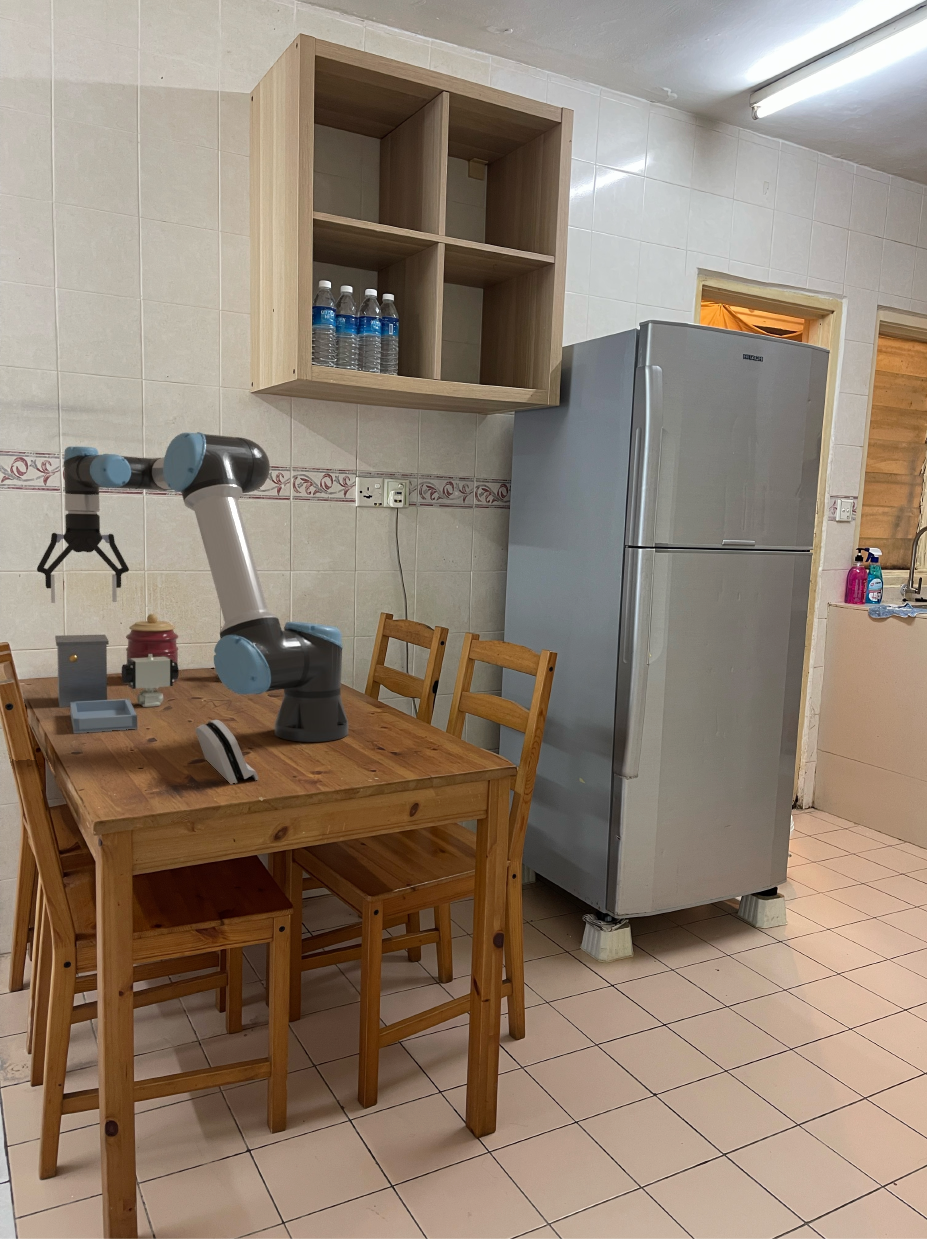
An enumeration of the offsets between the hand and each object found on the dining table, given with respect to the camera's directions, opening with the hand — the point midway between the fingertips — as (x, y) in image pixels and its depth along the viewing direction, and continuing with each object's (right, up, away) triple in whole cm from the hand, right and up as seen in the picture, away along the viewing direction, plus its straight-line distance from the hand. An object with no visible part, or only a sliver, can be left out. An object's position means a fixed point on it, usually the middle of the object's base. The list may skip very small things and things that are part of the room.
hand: (84, 602), depth 216 cm
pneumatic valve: (+19, -24, -9) cm, 32 cm away
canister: (+9, -20, +20) cm, 30 cm away
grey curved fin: (+49, -31, -57) cm, 81 cm away
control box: (+3, -23, -7) cm, 25 cm away
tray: (+15, -26, -26) cm, 39 cm away
